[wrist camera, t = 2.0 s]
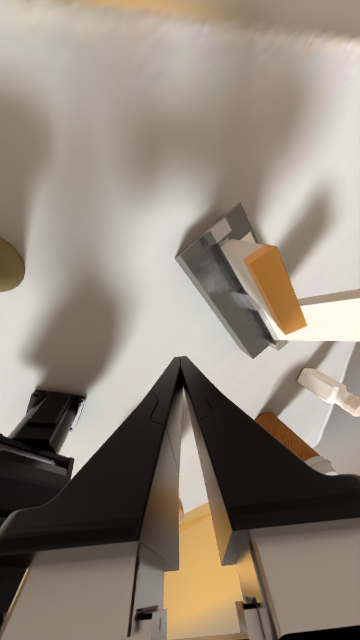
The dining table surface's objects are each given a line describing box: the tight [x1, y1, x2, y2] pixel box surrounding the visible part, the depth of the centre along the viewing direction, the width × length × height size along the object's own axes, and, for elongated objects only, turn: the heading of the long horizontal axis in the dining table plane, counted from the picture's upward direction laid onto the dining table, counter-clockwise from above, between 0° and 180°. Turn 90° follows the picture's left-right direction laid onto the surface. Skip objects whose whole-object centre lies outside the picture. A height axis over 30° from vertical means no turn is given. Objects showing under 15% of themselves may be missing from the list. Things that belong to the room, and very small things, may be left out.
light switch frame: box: [175, 203, 288, 359], centre depth 21 cm, size 9×20×5 cm, turn 39°
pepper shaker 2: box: [297, 368, 360, 417], centre depth 29 cm, size 4×4×10 cm
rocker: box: [219, 237, 308, 335], centre depth 13 cm, size 1×7×10 cm, turn 38°
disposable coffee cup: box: [255, 412, 337, 475], centre depth 30 cm, size 10×10×12 cm
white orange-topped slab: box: [257, 289, 360, 341], centre depth 17 cm, size 1×7×10 cm
